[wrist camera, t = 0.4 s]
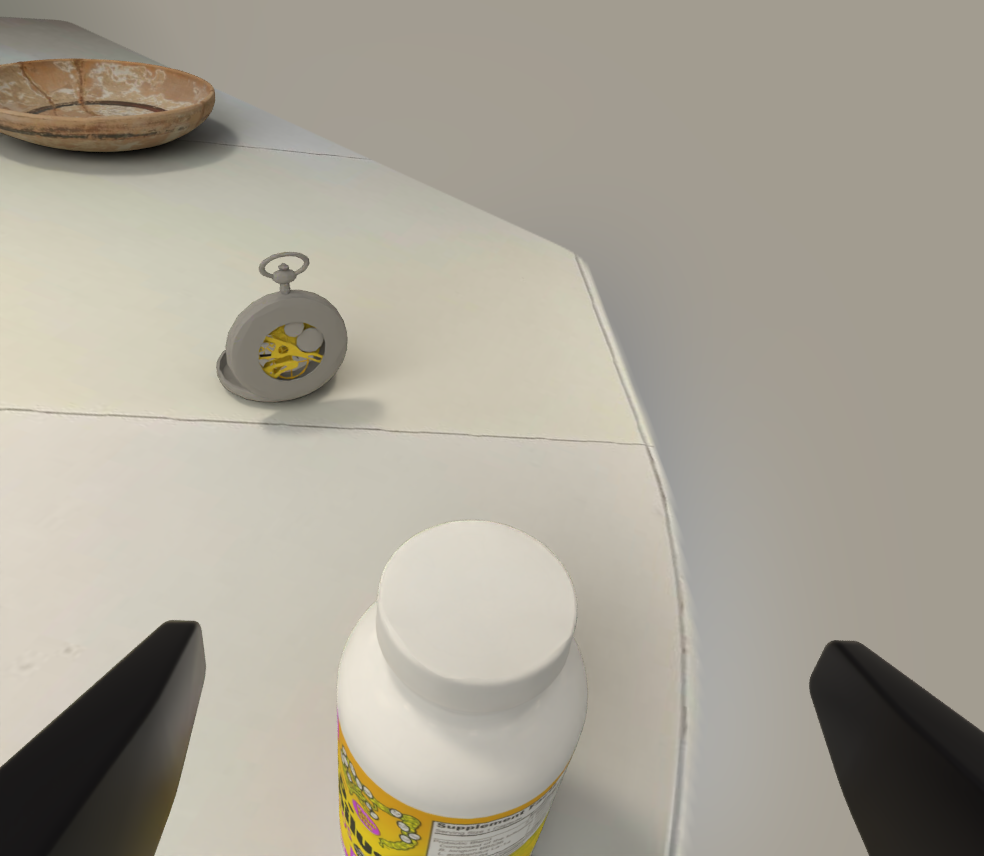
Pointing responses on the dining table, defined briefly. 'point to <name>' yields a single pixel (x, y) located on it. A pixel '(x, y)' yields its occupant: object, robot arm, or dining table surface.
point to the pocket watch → (283, 342)
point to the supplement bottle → (459, 697)
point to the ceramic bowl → (100, 103)
